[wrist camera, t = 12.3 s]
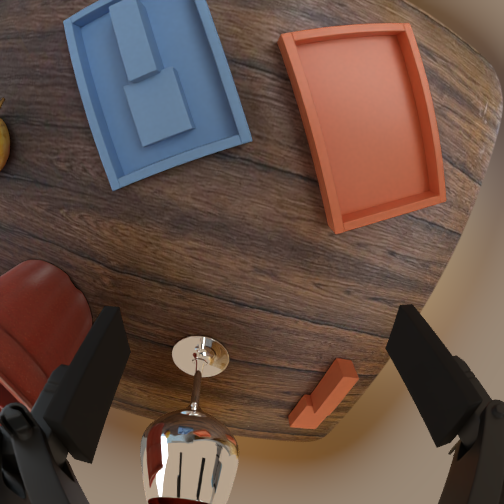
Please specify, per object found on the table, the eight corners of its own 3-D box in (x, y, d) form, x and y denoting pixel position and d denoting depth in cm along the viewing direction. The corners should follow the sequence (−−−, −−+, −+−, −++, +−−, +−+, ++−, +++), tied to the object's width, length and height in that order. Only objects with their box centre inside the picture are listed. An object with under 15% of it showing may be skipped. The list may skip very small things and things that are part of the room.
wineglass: (152, 360, 32) (117, 500, 16) (186, 314, 30) (153, 481, 13) (212, 389, 34) (206, 525, 18) (252, 349, 32) (263, 506, 15)
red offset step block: (329, 356, 33) (336, 375, 30) (357, 361, 34) (365, 379, 31) (287, 416, 37) (290, 434, 34) (312, 418, 38) (316, 435, 35)
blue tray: (195, -26, 17) (191, -38, 14) (251, 139, 23) (252, 141, 21) (75, 27, 18) (62, 21, 15) (122, 185, 24) (112, 191, 22)
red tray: (397, 29, 19) (410, 23, 17) (432, 194, 26) (446, 201, 23) (276, 41, 20) (280, 33, 18) (327, 225, 26) (335, 234, 24)
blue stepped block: (112, 22, 18) (97, 12, 15) (155, 3, 17) (145, -11, 14) (149, 145, 22) (137, 148, 19) (196, 128, 22) (189, 128, 19)
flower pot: (42, 207, 24) (-73, 286, 10) (140, 329, 30) (95, 457, 15) (-15, 282, 27) (-86, 355, 12) (64, 372, 33) (21, 463, 18)
